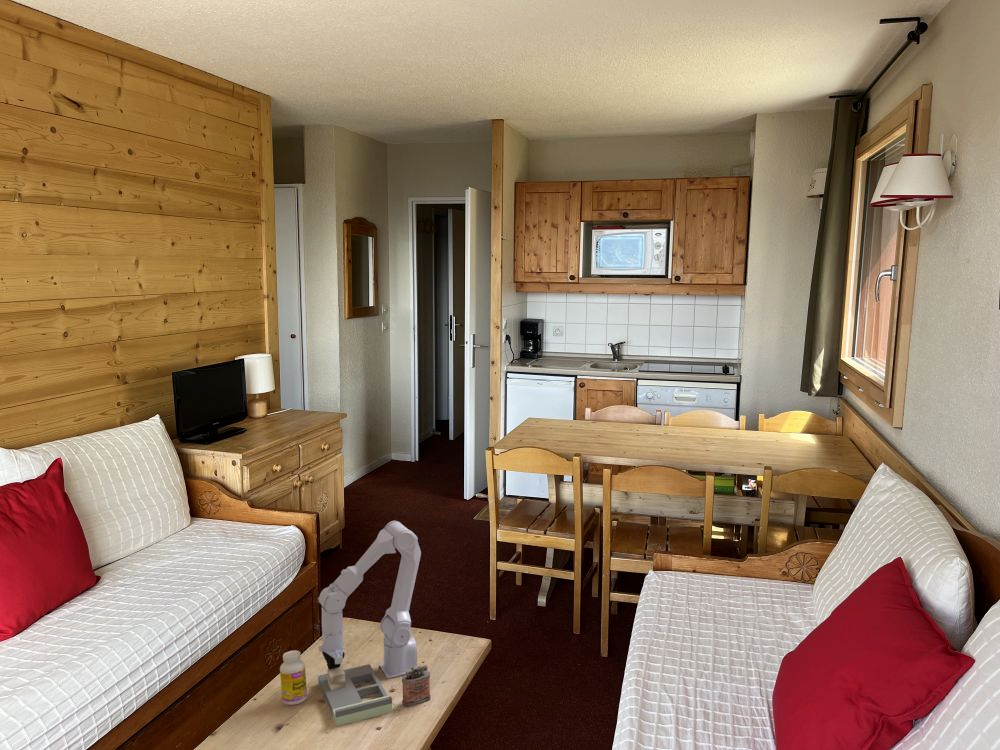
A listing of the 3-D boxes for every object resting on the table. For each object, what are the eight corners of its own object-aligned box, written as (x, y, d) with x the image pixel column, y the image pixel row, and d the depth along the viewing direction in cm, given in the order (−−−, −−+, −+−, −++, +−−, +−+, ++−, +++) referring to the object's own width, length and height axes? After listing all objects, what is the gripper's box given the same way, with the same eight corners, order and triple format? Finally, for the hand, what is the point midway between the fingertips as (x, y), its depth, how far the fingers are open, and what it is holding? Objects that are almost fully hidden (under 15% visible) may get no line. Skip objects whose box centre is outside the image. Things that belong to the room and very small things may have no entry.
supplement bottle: (292, 708, 202) (288, 661, 202) (277, 702, 206) (273, 656, 206) (312, 697, 208) (308, 651, 207) (297, 691, 212) (293, 647, 211)
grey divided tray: (369, 671, 222) (369, 659, 221) (392, 712, 202) (392, 698, 202) (318, 683, 216) (318, 670, 215) (336, 726, 196) (336, 712, 195)
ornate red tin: (404, 708, 204) (404, 674, 202) (400, 702, 207) (399, 668, 205) (432, 700, 208) (432, 666, 206) (427, 694, 210) (427, 660, 209)
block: (342, 679, 213) (341, 666, 212) (345, 687, 209) (345, 673, 209) (327, 683, 211) (327, 669, 211) (330, 690, 208) (330, 676, 207)
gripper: (312, 622, 216) (314, 666, 218) (323, 645, 203) (325, 692, 205) (337, 617, 219) (338, 660, 221) (349, 639, 206) (350, 686, 208)
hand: (334, 675), depth 213 cm, fingers closed
